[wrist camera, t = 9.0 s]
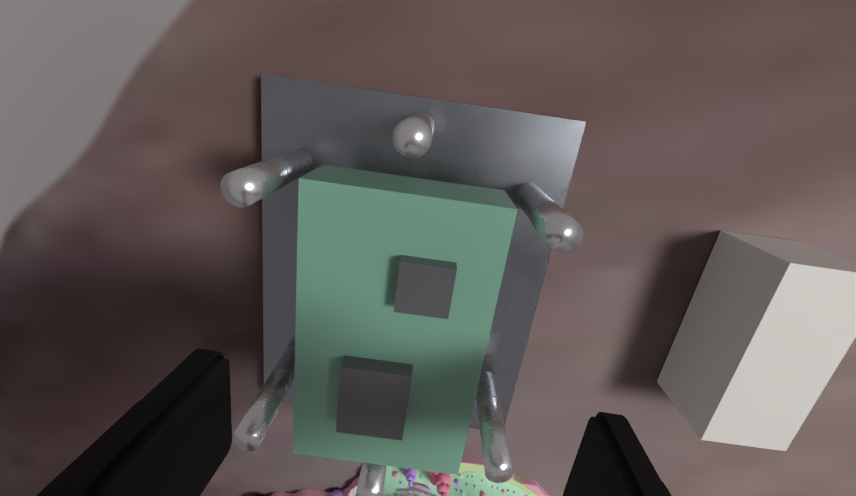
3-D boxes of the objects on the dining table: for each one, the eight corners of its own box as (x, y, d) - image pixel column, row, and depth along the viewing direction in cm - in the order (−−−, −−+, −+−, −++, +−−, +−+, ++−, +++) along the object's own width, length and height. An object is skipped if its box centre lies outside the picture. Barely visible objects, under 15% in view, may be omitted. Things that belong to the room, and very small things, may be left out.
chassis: (499, 417, 21) (521, 534, 15) (272, 386, 21) (208, 494, 15) (577, 120, 16) (654, 132, 10) (271, 74, 15) (173, 60, 10)
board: (455, 423, 17) (458, 490, 14) (313, 405, 16) (286, 468, 14) (504, 190, 13) (522, 215, 10) (323, 164, 13) (290, 182, 10)
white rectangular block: (726, 391, 20) (785, 451, 16) (656, 381, 20) (701, 439, 16) (802, 242, 17) (891, 277, 14) (720, 230, 17) (790, 262, 14)
